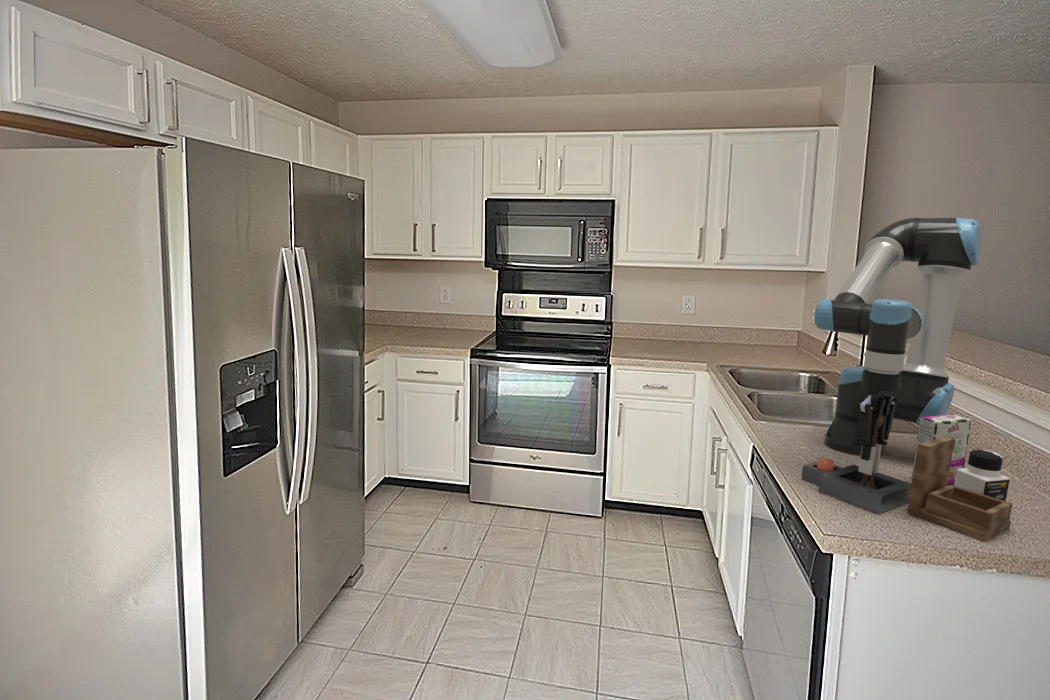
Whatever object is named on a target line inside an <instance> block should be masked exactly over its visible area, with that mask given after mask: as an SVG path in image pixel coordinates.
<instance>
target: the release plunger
mask: <svg viewBox="0 0 1050 700" xmlns="http://www.w3.org/2000/svg"><path fill="white" fill-rule="evenodd" d="M834 465H835V461H834V460H833V459H830V458H826V457H821V458H820V457H819V458H817V468H818V469H821V470H824V471H827V472H830V471H833V468H834Z"/></svg>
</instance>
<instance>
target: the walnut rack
mask: <svg viewBox="0 0 1050 700" xmlns="http://www.w3.org/2000/svg"><path fill="white" fill-rule="evenodd" d="M954 441H955V439H954V438H950V437H946V436H944V437H941V438H937V439H934V440H931V441H927V442H924V443H921V444H918V448H917V455H916V461H915V467H914V474H913V480H912V479H911V483H912V486H911V493H910V499H909V503H908V507H907V511H906V514H907V513H908V515H910V516H913V517H916V518H918V517H919V519H922V520H924V521H927V522H929V521H930V523H933V524H934V525H935V524H936V525H938V526H940V525H941V526H940V527H943V528H947V529H948V528H949V530H951V531H954V532H957V533H959V532H960V533H959V534H963V535H965V536H969V537H971V538H973V539H976V540H979V541H981V542H986V541H988V540H990V539H992V538H995V537H996V536H998V535H1000V534H1001V533H1003V532H1005V531H1007V530H1009V529H1010V528H1011V524H1012V523H1011V522H1012V521H1011V520H1010V519H1011V514H1012V508H1013V503H1011V502H1009V501H1007V500H1006V501H1002V500H999V499H996V498H993V497H990V496H986V495H983V494H980V493H977V492H974V491H970V490H967V489H964V488H961V487H958V486H954V485H947V483H948V477H949V471H950V465H951V459H952V453H953V447H954Z"/></svg>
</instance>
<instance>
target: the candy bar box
mask: <svg viewBox="0 0 1050 700" xmlns="http://www.w3.org/2000/svg"><path fill="white" fill-rule="evenodd" d="M971 424H972V418H969V417H964V416H961V415H959V414H946V415H941V416H928V417H920V421H919V424H918V429H917V438H916V444H915V445H916V446H915V451H914V459H913V467H912V472H911V473H912V474H911V481H912V480H913V474H914V467H915V461H916V455H917V448H918V444H921V443H924V442H927V441H931V440H934V439H937V438H941V437H944V436H946V437H950V438H954V439H955V441H954V447H953V453H952V459H951V465H950V471H949V477H948V483H947V486H948V485H954V483H955V477H956V471H957V469H961V468H965V463H966V458H967V450H968V446H969V445H968V444H969V436H970V431H971Z"/></svg>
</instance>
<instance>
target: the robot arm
mask: <svg viewBox="0 0 1050 700" xmlns="http://www.w3.org/2000/svg"><path fill="white" fill-rule="evenodd" d="M863 250H864V251H863V256H862V258H861V259H860V261H859V262H858V264H857V265H856V266H855V268H854V270H853V271H852V273H851V274H850V276H849V277H848V278H847V280H846V282H845V283H844V285H843V286H842V287H841V289H840V291H839V292H838V293H837V295H836V297H835V298H834V299H831V298H829V299H821V300H820V301H818V303H817V305H816V307H815V309H814V315H813V316H814V317H813V318H814V325H815V326H816V328H817V329H818V330H822V331H823V330H824V331H829V332H832V333H841V334H850V335H861V336H867V337H866V338H867V339H866V347H865V352H864V354H863V356H864V362H863V365H857V366H855V365H853V366H847V367H845V368H843V369H842V370H841V371H840V374H839V375H840V376H839V381H838V383H837V385H838V386H837V395H836V401H835V402H836V403H835V411H834V412H835V413H834V417H833V419H832V421H831V424H830V425H829V427H828V429H827V430H826V433H825V435H824V444H825V445H826V446H827V447H829V448H831V449H834V450H837V451H839V452H843V453H847V454H852V455H857V456H858V455H859V465H858V466H859V470H858V471H859V472H862V473H865V474H868V475H872V471H873V473H879V468H880V460H881V455H883V454H884V453H885V448H886V446H888V440H889V438H890V434H891V429H892V424H893V420H899V421H904V422H909V423H913V424H916V425H919V421H920V417H928V416H941V415H948V412H949V410H950V407H951V404H952V402H953V398H954V394H955V393H954V392H955V385H954V384H952V383H951V382H949V379H950V376H949V375H948V373H947V372H946V370H945V369H944V368H945V363H946V360H947V359H946V358H947V354H948V349H949V343H950V338H951V332H952V329H953V323H954V317H955V312H956V309H957V308H956V306H957V304H958V297H959V291H960V286H961V283H962V282H961V281H962V279H963V277H965V276H967V275H969V273H970V272H971V267H972V266H978V264H980V261H981V255H982V229H981V225H980V223H979V222H978V221H977V220H976V219H973V218H962V217H910V218H909V217H908V218H903V219H900V220H897V221H895V222H893V223H890V224H889V225H887V226H885V227H884V228H882V229H881V230H879V231H878V232H876V233H875V234H874V235H872V236H871V237H870V239H869V240H868V241H867V243H866V245H865V247H864V249H863ZM902 262H912V263H917V270H918V271H919V272H920V273H921V275H922V277H921V282H920V287H919V293H918V298H917V303H916V307H913V306H912V303H910V302H909V301H906V300H900V299H899V300H898V299H884V298H883V299H881V298H880V299H875V300H874V301H873V299H874V298H875V297H876V294H877V293H878V291H879V289H880V288H881V287H882V285H883V283H885V280H886V279H887V278H888V276H889V274H890V272H891V271H892V269H893V268H896V267H897V266H898V265H900V264H901V263H902ZM872 301H873V302H872ZM871 302H872V303H871ZM908 339H910V340H909V343H908V342H907V341H908ZM907 343H908V344H909V345H908V349H907V354H906V347H907ZM905 357H906V360H905ZM874 412H875V413H874ZM882 414H883V423H882V425H881V426H880V427H879V428H878V429H877V420H878V418H879V417H882ZM876 432H879V433H878V434H877V441H876V447H874V442H875V437H876ZM873 464H874V465H873Z"/></svg>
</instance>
